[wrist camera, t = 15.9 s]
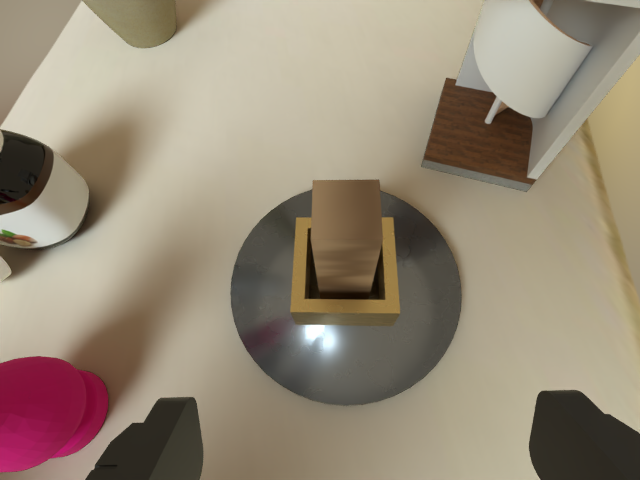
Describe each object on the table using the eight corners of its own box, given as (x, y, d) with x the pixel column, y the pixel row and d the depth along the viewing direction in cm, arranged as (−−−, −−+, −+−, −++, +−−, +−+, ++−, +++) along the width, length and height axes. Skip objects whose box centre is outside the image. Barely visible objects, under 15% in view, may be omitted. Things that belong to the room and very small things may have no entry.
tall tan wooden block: (320, 301, 31) (310, 239, 20) (321, 259, 33) (312, 180, 22) (367, 302, 31) (383, 239, 20) (366, 259, 32) (379, 179, 22)
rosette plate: (218, 402, 29) (195, 399, 24) (247, 192, 38) (234, 160, 33) (474, 409, 28) (501, 407, 23) (442, 191, 37) (457, 158, 32)
